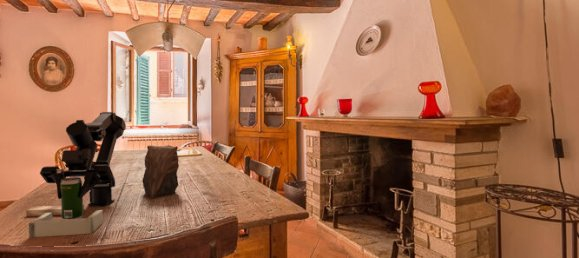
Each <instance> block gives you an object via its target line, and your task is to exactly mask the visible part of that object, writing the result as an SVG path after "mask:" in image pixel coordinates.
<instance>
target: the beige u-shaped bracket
mask: <svg viewBox="0 0 579 258" xmlns="http://www.w3.org/2000/svg"><path fill="white" fill-rule="evenodd" d="M102 224H104V211H103V209H96V210H95V211H94V212H93V213H92V214H90V215H89V216H88V217H84V218H83V217H82V218H80V219H62V218H61V219H53V215H52V213H45V214H44V215H42V216H39V217H38V216H37V218H35V219H33V220H32V221H30V222H28V234H29V235H28V236H29V238H41V237H55V236H71V235H72V236H73V235H86V234H87V235H88V234H93V233H94V232H95V231H96V230H97V229H98V228H99V227H100V226H101V225H102Z"/></svg>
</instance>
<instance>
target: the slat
mask: <svg viewBox="0 0 579 258" xmlns="http://www.w3.org/2000/svg"><path fill="white" fill-rule="evenodd" d="M83 212H85V205H84V204H83ZM45 213H52V216H62V210H61V205H42V206H41V205H40V206H39V205H38V206H37V205H36V206H32V207H30V208H28V209H26V212H25V214H26V217H38V216H39V217H40V216H42V215H44V214H45Z"/></svg>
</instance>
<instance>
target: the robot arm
mask: <svg viewBox="0 0 579 258" xmlns="http://www.w3.org/2000/svg"><path fill="white" fill-rule="evenodd" d="M126 126H127V125H126V122H125V120H124V118H123V117H121V116H119V115H117V114H116V112H114V111H102V112H100V113H99V115H98V116H97V117H95V119H94V120H93V121H91V122H88V123H85V121H84V119H76V121H75V122H73V123H71V124H69V125H68V126H67V127H66V128H65V132H66V134H67V137H69V140H70V142H71V143H72V145H73V146H74V147H76V148H75V150H74V149H73V150H72V149H71V150H70V149H69V150H66V149H65V150H63V151H62V155H61V163H62V162H63V163H64V166H65V168H66V169H62V168H59V166H58V165H50V166H49V165H48V166H42V168H41V169H40V172H39V175H40V176H41V177H42V179H43V180H44V181H45V182H46V183H47V184H55V185H56V191H57V199H59V200H61V187H60V183H61V180H62V179H65V178H72V177H79V178H83V180H84V181H83V182H82V188H81V191H80V195H79V197H80V198H82V197H84V196H86V194H89V203H88V204H87V206H91V207H92V206H94V207H96V206H99V207H105V206H107V205H109V204H111V203H114V202H115V199H112V198H113V197H112V193H113V191H112V188H114V187H116V178H115V176H114V174H113V170H112V168H111V166H110V164H111V160H112V157H113V154H114V150H115V146H116V143H117V140H118V139H119V138H121V137H122V136H123V134H124V132H125V131H126ZM101 141H102V142H101ZM97 142H101V143H100V148H99V151H98V143H97ZM96 153H97V157H96V160H95V161H94V159H95V155H96Z"/></svg>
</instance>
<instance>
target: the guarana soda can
mask: <svg viewBox="0 0 579 258" xmlns="http://www.w3.org/2000/svg"><path fill="white" fill-rule="evenodd" d="M82 186H83V181H82V177H66V178H65V179H62V180H61V183H60V187H61V199H60V203H61V204H60V206H61V210H62V215H61V220H62V219H80V218H83V216H84V211H83V205H84V202H83V201H84V200H83V197H84V196H83V197H82V198H80V197H79V195H80V191H81V188H82Z"/></svg>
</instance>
